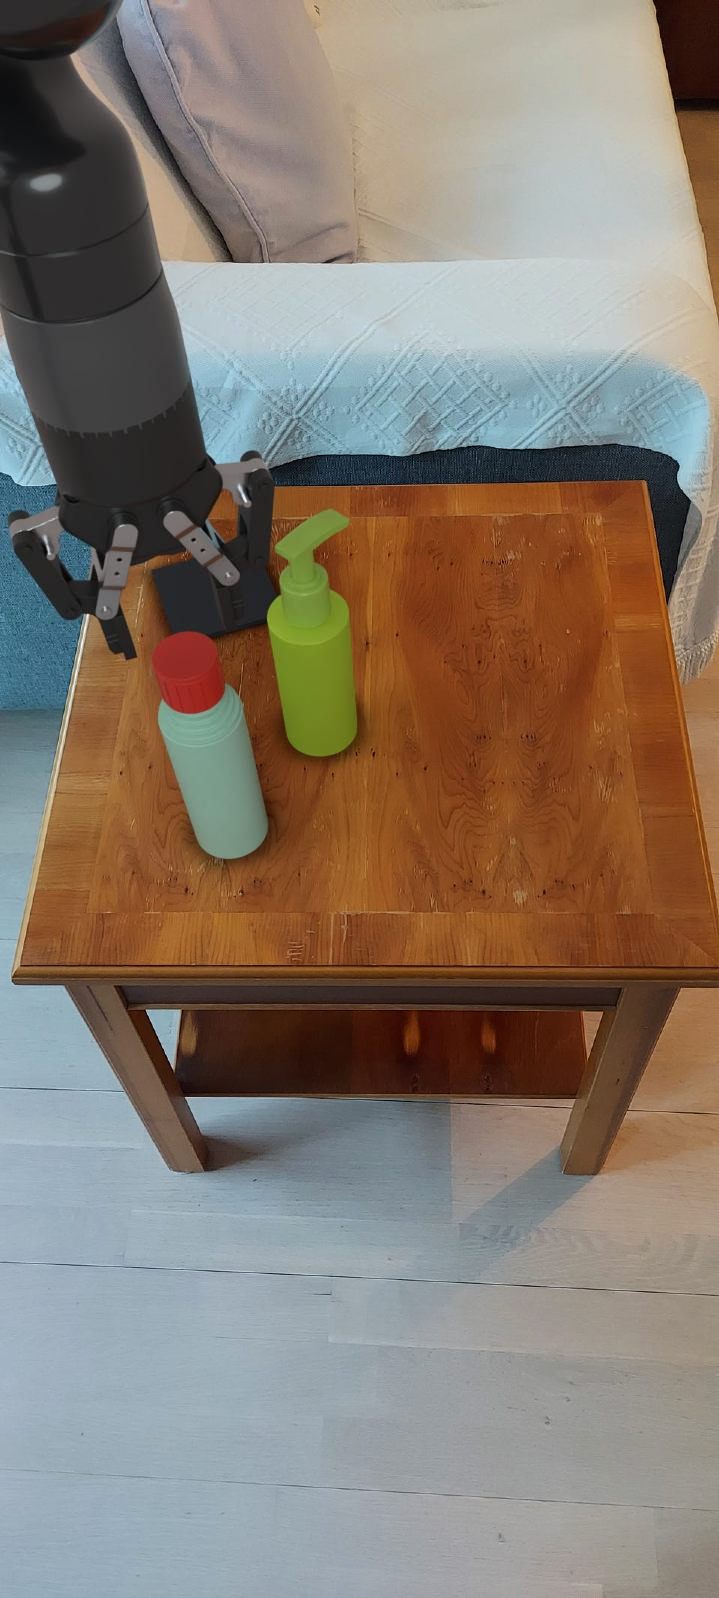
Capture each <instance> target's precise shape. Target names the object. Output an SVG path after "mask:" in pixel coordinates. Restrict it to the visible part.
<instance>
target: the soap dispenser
mask: <svg viewBox="0 0 719 1598" xmlns="http://www.w3.org/2000/svg"><path fill="white" fill-rule="evenodd" d="M350 522H351V519H350V518H349V517H346V516H345V515H343V514H341V513H340V512H338V511H336V510H334V509H333V508H328V509H325V510H322V511H320V512H318V513H317V514H314V515H312V516H311V517H309V518H308V519H306V520H304V521H303V522H301V523H300V524H299V525H297V526H296V527H294V528H293V529H292V530H291V531H290V532H289V533H288V534H287V535H285V536H284V537H283V538H281V540H279V541H278V542H277V543H276V544H275V545H274V552H275V553H276V554H278V555H279V556H281V557H282V558H284V559H285V560H287V561H288V564H289V565H287V566H286V567H285V568H283V570H282V571H281V573H280V574H279V578H278V579H279V580H278V581H279V588H280V589H279V590H280V594H279V595H277V596H278V597H277V598H276V599H275V600H274V601H273V603H272V604H271V606H270V607H269V610H268V614H267V622H266V623H267V628H268V634H269V639H270V645H271V646H270V647H271V651H272V657H273V662H274V663H273V664H274V669H275V674H276V680H277V681H276V682H277V686H278V693H279V697H280V698H279V699H280V705H281V710H282V711H281V712H282V717H283V723H284V728H285V734H286V737H287V740H288V743H290V744H291V746H292V747H293V748H294V749H295V750H297V751H298V752H300V753H302V754H304V755H307V756H311V757H329V756H333V755H336V754H338V753H340V752H343V751H344V750H345V749H347V748H348V747H349V746H350V745H351V744H352V743H353V742H354V739H355V738H356V735H357V732H358V715H357V703H356V687H355V674H354V663H353V662H354V661H353V660H354V659H353V647H352V646H353V645H352V634H351V632H352V631H351V620H350V610H349V605H348V603H347V602H346V600H345V599H344V598H343V596H342V595H341V594H339V593H338V592H336V591H334V590H332V589H330V583H329V581H330V580H329V574H328V572H327V570H326V569H325V567H323V566H322V565H321V564H320V563H317V562H315V557H314V550H315V549H317V548H318V547H320V545H322V544H323V543H324V542H325V541H327V540H329V538H331V537H332V536H334V535H336V534H337V533H338V532H341V531H342V530H345V529H347V528H348V526H349V525H350Z"/></svg>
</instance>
